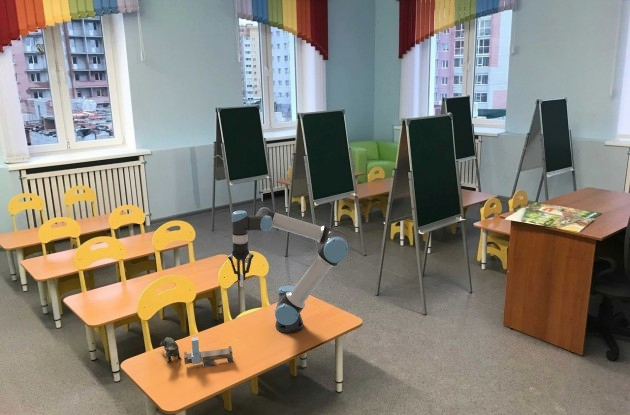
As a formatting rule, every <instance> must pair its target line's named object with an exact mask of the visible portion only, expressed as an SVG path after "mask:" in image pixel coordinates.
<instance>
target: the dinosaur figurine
mask: <svg viewBox="0 0 630 415" xmlns="http://www.w3.org/2000/svg"><path fill="white" fill-rule="evenodd" d="M159 346H160V347H163V349H164V351H165V352H166V353H165V355H164V356H165V358H166V359H167V364H172V363H173V361H172V358H175V357H177V361H181V360H182V357H181V356H180V352H179V351H180V350H179V349H180V347H179V345H178V344H177V343H176V341H175V340H174V338H172V337H168V336H167V337H165V338H164V339H163V340H162V341H160V344H159Z"/></svg>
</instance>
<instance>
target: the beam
mask: <svg viewBox="0 0 630 415" xmlns="http://www.w3.org/2000/svg"><path fill="white" fill-rule="evenodd" d="M183 356H184V361H183V362H184V365H189V364H192V355H191V352H188V353H187V351H184V352H183ZM200 356H201V363H203V365H202V366H203V368H209V367H215V364H216V363H215V361H219V360H227V364H230V363H234V357H233V348H232V346H231V345H228V347H227V348H219V349H213V350H212V349H211V350H205V351H200Z"/></svg>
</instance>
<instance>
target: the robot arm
mask: <svg viewBox="0 0 630 415" xmlns="http://www.w3.org/2000/svg"><path fill="white" fill-rule="evenodd" d="M231 228H232V229H231V231H232V233H231V234H232V235H231V236H232V252H231V254H229V255H227V258H228V260H229V261H230V265H231V267H232V271H233V274H235V275H237V280H238V281H239V286H240V288H243V287H244V281H245V280H246V274H248V273H249V272H250V268H251V264H252V260H253V258H254V256H255V255H254V254H253V253H252V252H250V251H249V241H248V240H249V237H248V236H249V233H248V232H270V231H271V230H272V228H275V229H278V230H281V231H285V232H289V233H291V234H295V235H299V236H301V237H305V238H307V239H310V240H314V241H317V243H318V244H320V245H322V246H321V247H320V248H319V249H318V250H317V257H316V259H314V261H313V262H312V264H311V265H310V266H309V268H307V270H306V272H305V273H304V274H303V275H302V277H301V278H300V279H299V281H298V282H297V283H296V285H295V286H294V285H284V286H281V287H279V288H278V293H277V294H278V297H277V298H278V299H277V302H276V308H275V309H274V316H275V320H276V321H275V329H276V330H277V331H278V332H281V333H282V334H283V333H284V334H295V333H297V332H298V333H299V332H300V331H302V330H303V329H304V321H303V317H302V315H301V312H302V311H303V309H304V308H305V307H306V303H305V302H306V301H307V300H308V298H309V297H310V295H311V294H312V293H313V292H314V290H315V289H316V288H317V287H318V285H319V284H320V283H321V281H322V280H323V279H324V278H325V276H326V275H327V273H328V272H329V271H330V270H331V268H334V267H337V266H338V264H339V263H341V262H342V261H344V260H346V258H347V256H348V253H349V245H348V237H347V236H346V234H345V233H344V231H342V230H340V229H337V228H334V227H330V226H327V225H322V226H321V225H317V224H313V223H311V222H307V221H304V220H301V219H298V218H294V217H291V216H288V215H285V214H281V213H278V212H275V211H272V210H271V209H270V208H269V207H261V208H259V209H258V210H257V212H256V214H255V215H248V212H247V211H246V210H236V211H233V212H232V213H231ZM247 257H248V259H247ZM234 259H235V260H236V266H235V263H234ZM246 259H247V264H246ZM241 270H242V272H241Z"/></svg>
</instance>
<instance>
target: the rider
mask: <svg viewBox="0 0 630 415" xmlns="http://www.w3.org/2000/svg"><path fill="white" fill-rule="evenodd" d="M199 346H200V344H199V336H196V337H194V336H193V337H191V348H190V353H191V355H192V363H191V365H198V364H202V362H201V356H200V352H201V348H200V347H199Z"/></svg>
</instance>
